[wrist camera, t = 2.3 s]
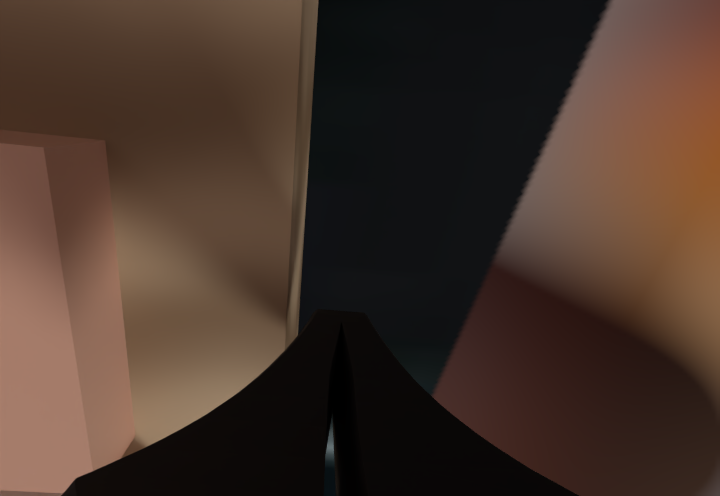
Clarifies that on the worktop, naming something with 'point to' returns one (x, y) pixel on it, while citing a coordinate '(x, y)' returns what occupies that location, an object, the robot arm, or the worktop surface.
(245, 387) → the robot arm
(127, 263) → the oak deck
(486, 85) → the worktop surface
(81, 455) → the terracotta tile
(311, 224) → the worktop surface
